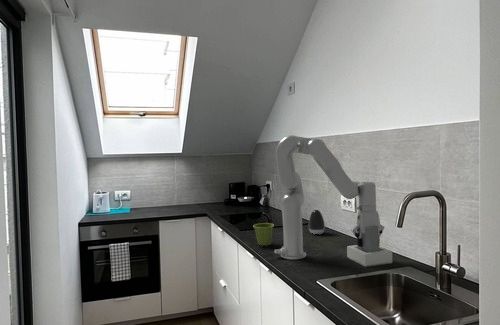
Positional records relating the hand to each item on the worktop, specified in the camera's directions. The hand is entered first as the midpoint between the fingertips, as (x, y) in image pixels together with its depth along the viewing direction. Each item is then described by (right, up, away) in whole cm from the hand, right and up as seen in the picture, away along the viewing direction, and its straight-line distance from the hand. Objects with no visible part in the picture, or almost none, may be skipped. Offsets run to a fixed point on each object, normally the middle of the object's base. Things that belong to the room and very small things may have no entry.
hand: (368, 245), depth 164 cm
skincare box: (0, -6, 0) cm, 7 cm away
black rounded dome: (-13, -6, +57) cm, 59 cm away
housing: (0, -7, 0) cm, 7 cm away
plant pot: (-47, -8, +34) cm, 59 cm away
